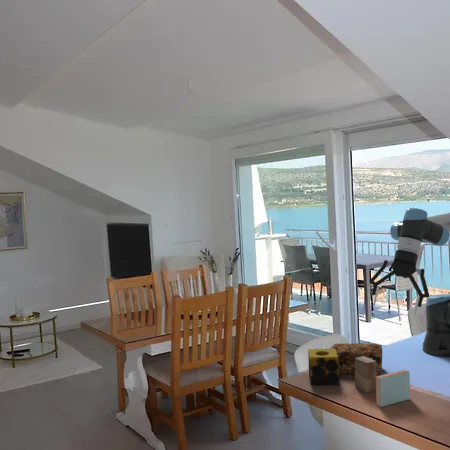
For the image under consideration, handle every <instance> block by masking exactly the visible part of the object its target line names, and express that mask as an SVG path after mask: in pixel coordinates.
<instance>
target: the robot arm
mask: <svg viewBox="0 0 450 450" xmlns="http://www.w3.org/2000/svg"><path fill="white" fill-rule="evenodd" d="M389 233H390V236H391V238H392V240H395V241H397V245H396V250H395V253H394V257H393V258H394V259H393V261H392V262H391V261H388V260H387V259H385V260H384V261H383V264H382V266H380V268H379V269H377V271H376V272H375V274H373V276H372V277H371V278H370V279H369V283H370V284H371V285H372V286H373V287H372V292H371V295H372V296H374V298H373V302H372V303H373V304H372V305H373V306H376V303H377V298H378V294H379V291H380V285H381V284H383V283H384V282H386V281H387V280H388V279H390V278H391V277H392V276H393V275H395V276H396V277H398V278H400V277H402V278H403V279H409V281H410V282H411V284H412V286H413V288H414V290H415V291H416V293H417V296H416V298H415V302H414V308H413V312H412V316H414V317H416V315H417V310H418V308H421V307H422V305H423V300H424V299H425V298H426V300H425V314H426V315H425V316H426V317H425V318H426V320H425V321H426V322H425V323H426V332H425V336H424V340H423V342H422V351H423V352H424V353H427V354H428V355H433V356H439V357H450V293H445V294H444V293H441V294H433V295H430V292H429V289H428V286H427V281H426V278H425V269H424V268H417V266H416V265H417V264H418V263H417V262H418V257H419V254H418V253H420V249H421V245H422V243H423V244H424V243H425V244H432V245H433V246H438V247H442V246H444V245H446V244H447V243H448V241H449V240H450V212H446V213H441V214H436V215H432V216H428V212H427V211H426V210H424V209H421V208H418V207H417V208H415V207H408V208H407V209H406V210H405V212H404V216H403V218H402V221H396V222H393V223H392V224H391V226H390V230H389ZM389 267H391V269H392V270H391V271H390V272H389V273H387V274H385V275H384V276H383V277H381V278H380V279H378V277H379V276H380V275H382V273H383V272H384V270H385V269H386V268H389ZM415 273H417V275H418V276H419V279H420V282H421V285H422V286H421V287H422V289H423V290H422V291H423V292H422V291H421V289H420V287H419V285H418V283H417V281H416V280H415V277H414V274H415ZM376 279H378V280H377V281H376Z"/></svg>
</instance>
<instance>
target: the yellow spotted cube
mask: <svg viewBox="0 0 450 450" xmlns="http://www.w3.org/2000/svg"><path fill="white" fill-rule="evenodd" d="M307 354H308V376H309V382H310V385H311V386H318V385H319V386H323V385H324V386H328V385H329V386H331V385H332V386H333V385H337V386H338V385H340V373H339V372H338V367H339V366H338V355H337V353H336V349H335V348H334V349H330V348H309V349H308V350H307Z"/></svg>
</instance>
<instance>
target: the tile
mask: <svg viewBox="0 0 450 450" xmlns="http://www.w3.org/2000/svg"><path fill="white" fill-rule="evenodd" d="M410 373H411V372H410V370H407V369H403V370H399V371H394V372H390V373H387V374H386V373H385V374H381V375H376V391H375V394H376V395H375V397H376V398H375V399H376V406H377V407H380V408H381V407H385V406H390V405H393V404H397V403H401V402H405V401H408V400H411V381H410V380H411V378H410V377H411V376H410Z"/></svg>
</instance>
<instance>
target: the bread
mask: <svg viewBox="0 0 450 450" xmlns="http://www.w3.org/2000/svg"><path fill="white" fill-rule="evenodd" d="M334 348H335V349H336V353H337V355H338V366H339V367H338V372H339V374H345V375H355V358H358V357H362V356H365V357H367V358H370V359H372V360H375V361H376V376H381V375H382V372H383V347H382V345H381V344H378V343H372V342H371V343H370V342H367V343H362V342H361V343H360V342H358V343H357V342H356V343H354V342H353V343H350V342H349V343H335V344H333V345H332V346H331V347H330V348H329V349H334Z"/></svg>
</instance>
